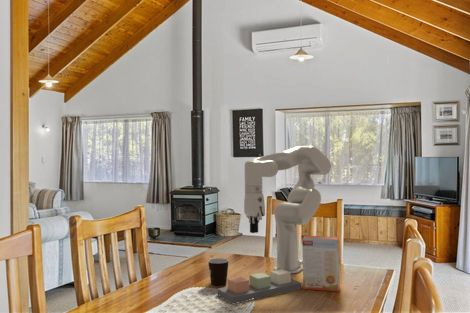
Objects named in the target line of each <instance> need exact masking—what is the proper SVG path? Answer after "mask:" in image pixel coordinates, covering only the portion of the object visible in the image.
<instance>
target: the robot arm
mask: <svg viewBox="0 0 470 313" xmlns="http://www.w3.org/2000/svg"><path fill="white" fill-rule="evenodd" d="M296 166H297V169H298V170H297V171H298V180H297V183H296V184H295V185H294V186H293V188H292V189H291V191H290V192H289V194H288V196H287V202H283V201H282V202H279V203H278V204H277V205H276V206H275V207H274V211H273V214H274V220H275V225H276V226H275V227H276V265H275V266H273V271H274V270H279V269H283V270H286V271H289V272H291V275H293V274H298V273H301V271H302V267H301V265H303V259H302V260H301V259H299V258H298V252H299V251H298V231H297V227H296V226H295V225H300V226H304V225H307V224H308V223H309V222H310V221H311V219H312V218H313V216H315V214H316V212H317V210H318V209H319V208H320V207H319V206H320V204H321V202H322V201H321V200H322V196H321V193H320V191H319V190H318V189H316V188H315V182H314V179H313V176H314V175H315V176H316V175H317V176H325V175H327V174H329V173H330V172H331V170H332V164H331V161H330V159H329V158H328V157H327V155H325V154H324V153H323V151H321V150H320V149H319V148H318V147H316V146H313V145H296V146H293V147H291V148H288V149H286V150H282V151H280V152H274V153H272V154H267V155H263V156H259V157H257V158H254V159H252V160H248V161H245V163H244V201H243V202H244V204H243V208H244V210H243V211H244V214H245V215H246V216H245V217H246V218H247V219H248V222H249V233H252V234H257V233H259V224H260V221H262V220H263V217H265V216H266V209H265V208H266V206H265V205H266V204H265V198H264V193H263V178H272V177H274V176H276V175H277V174H278V172H279V171H285V170H289V169H291V168H294V167H296Z"/></svg>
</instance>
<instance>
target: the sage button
mask: <svg viewBox="0 0 470 313" xmlns="http://www.w3.org/2000/svg"><path fill="white" fill-rule="evenodd" d="M249 282H250V286H252V287H254V288H256V289H261V288H266V287H271V277H270V274H269V275H268V274H266V273H265V272H260V273H259V272H258V273H252V274H249Z"/></svg>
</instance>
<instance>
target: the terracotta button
mask: <svg viewBox="0 0 470 313" xmlns="http://www.w3.org/2000/svg"><path fill="white" fill-rule="evenodd" d="M249 282H250V279H247V278H245V277H243V276H236V277H232V278H231V277H230V278H227V287H228V290H229V291H231V292H233V293H235V294H237V293H242V292H247V291H249Z"/></svg>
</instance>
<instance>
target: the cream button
mask: <svg viewBox="0 0 470 313" xmlns="http://www.w3.org/2000/svg"><path fill="white" fill-rule="evenodd" d="M269 276H270V277H271V282H273V283H275V284H278V285H281V284H286V283H290V282H291V279H292V274H291V272H289V271H286V270H283V269H279V270H274V269H273V270H270V272H269Z"/></svg>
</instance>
